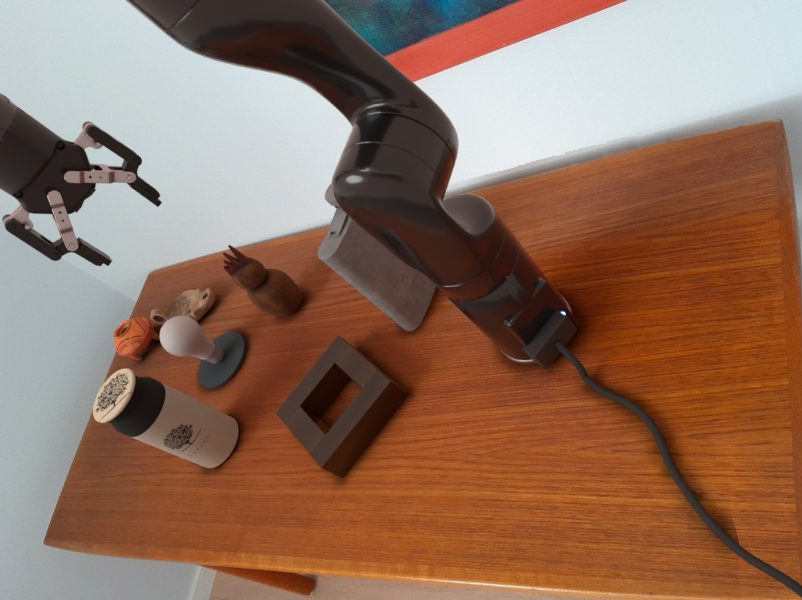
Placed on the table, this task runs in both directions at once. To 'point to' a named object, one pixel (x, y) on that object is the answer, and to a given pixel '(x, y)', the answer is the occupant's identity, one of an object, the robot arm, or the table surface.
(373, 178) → the robot arm
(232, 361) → the coaster
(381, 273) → the hip flask
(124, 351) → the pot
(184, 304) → the oil lamp
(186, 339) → the lightbulb
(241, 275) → the wooden figurine
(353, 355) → the bulb stand
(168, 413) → the travel mug
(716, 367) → the table surface
